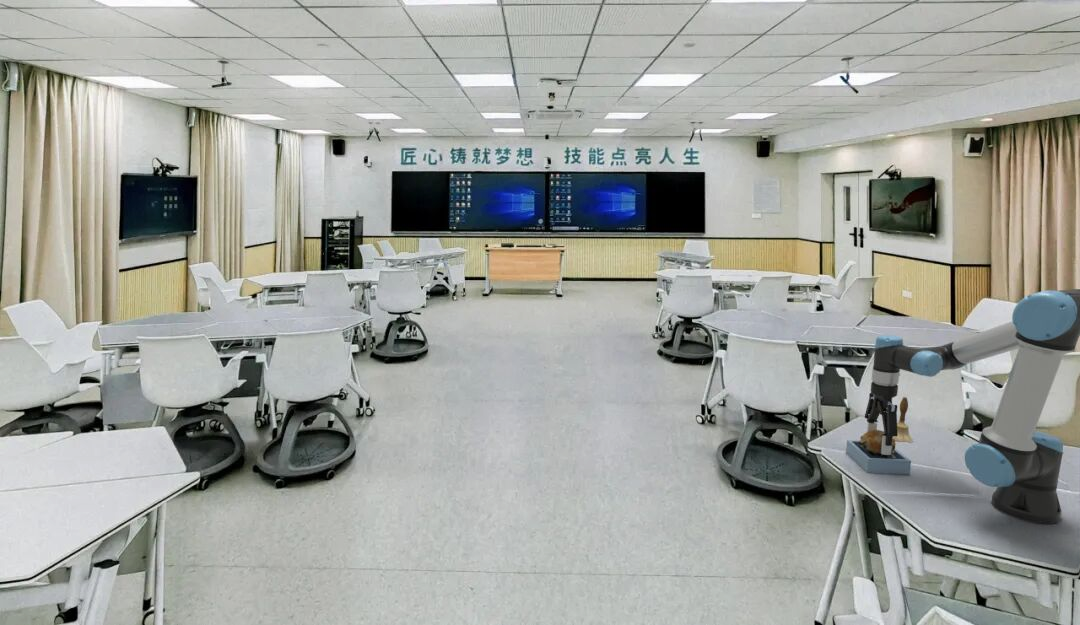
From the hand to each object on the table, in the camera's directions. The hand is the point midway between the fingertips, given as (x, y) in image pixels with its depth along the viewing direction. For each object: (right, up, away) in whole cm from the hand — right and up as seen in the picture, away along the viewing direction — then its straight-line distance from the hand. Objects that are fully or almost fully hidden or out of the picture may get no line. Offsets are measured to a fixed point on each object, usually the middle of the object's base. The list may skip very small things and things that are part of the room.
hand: (878, 447), depth 192 cm
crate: (0, -6, +1) cm, 6 cm away
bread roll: (0, -1, 0) cm, 1 cm away
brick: (0, -5, +1) cm, 5 cm away
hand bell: (+23, -2, +25) cm, 33 cm away
